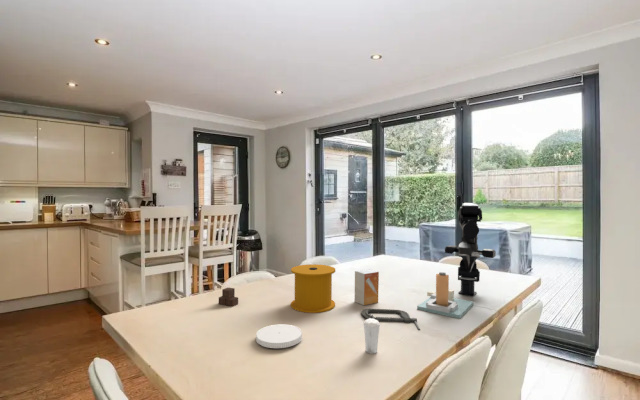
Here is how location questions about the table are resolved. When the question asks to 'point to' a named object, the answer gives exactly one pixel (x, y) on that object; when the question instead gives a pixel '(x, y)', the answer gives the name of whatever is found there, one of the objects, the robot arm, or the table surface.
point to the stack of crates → (228, 297)
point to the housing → (453, 310)
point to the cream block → (450, 294)
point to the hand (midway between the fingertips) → (469, 272)
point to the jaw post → (442, 289)
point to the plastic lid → (279, 336)
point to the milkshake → (371, 335)
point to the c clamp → (403, 318)
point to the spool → (313, 288)
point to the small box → (366, 286)
